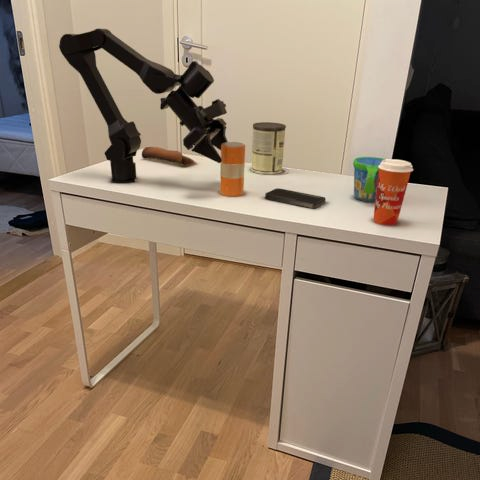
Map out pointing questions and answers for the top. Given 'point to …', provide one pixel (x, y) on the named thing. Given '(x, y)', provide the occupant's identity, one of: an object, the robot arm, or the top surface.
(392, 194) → the paper cup
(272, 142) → the coffee can
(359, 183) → the snack cup
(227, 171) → the juice can
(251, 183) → the top surface
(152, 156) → the brown elongated rounded bar
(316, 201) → the phone
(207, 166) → the top surface
